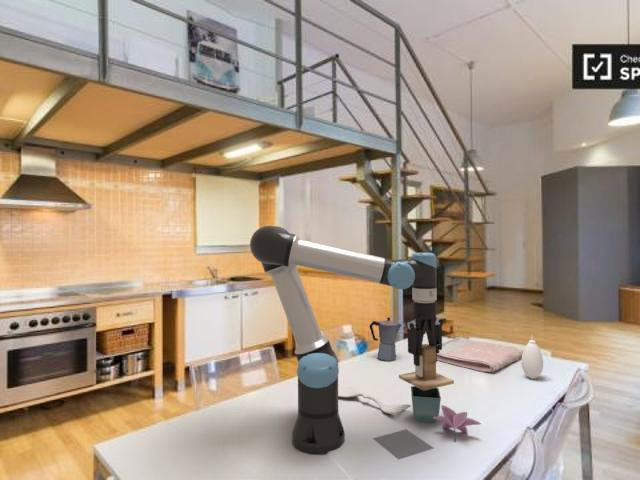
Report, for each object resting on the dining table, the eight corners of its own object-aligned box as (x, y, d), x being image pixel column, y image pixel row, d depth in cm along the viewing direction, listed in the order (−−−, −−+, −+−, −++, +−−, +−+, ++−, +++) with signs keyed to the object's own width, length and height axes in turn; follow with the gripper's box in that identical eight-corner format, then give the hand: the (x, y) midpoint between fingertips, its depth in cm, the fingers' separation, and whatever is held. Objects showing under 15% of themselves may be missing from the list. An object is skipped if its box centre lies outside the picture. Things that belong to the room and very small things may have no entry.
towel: (459, 344, 214) (459, 334, 214) (525, 358, 189) (525, 346, 189) (423, 358, 190) (423, 347, 190) (493, 376, 165) (493, 363, 165)
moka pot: (404, 361, 184) (403, 319, 184) (371, 362, 184) (370, 319, 184) (400, 355, 193) (399, 315, 193) (368, 355, 193) (368, 315, 193)
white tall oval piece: (541, 383, 156) (541, 337, 156) (520, 378, 160) (519, 334, 160) (544, 377, 162) (544, 333, 162) (523, 373, 167) (523, 331, 166)
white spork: (395, 423, 124) (395, 412, 124) (323, 394, 146) (323, 385, 146) (411, 413, 130) (411, 403, 130) (340, 388, 153) (340, 379, 153)
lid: (398, 378, 128) (398, 344, 128) (427, 372, 133) (427, 339, 133) (423, 390, 117) (423, 353, 117) (453, 383, 122) (453, 348, 122)
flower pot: (441, 427, 120) (441, 398, 120) (411, 425, 122) (411, 396, 122) (438, 414, 128) (438, 387, 128) (410, 412, 130) (410, 385, 130)
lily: (487, 447, 110) (483, 410, 115) (464, 443, 104) (461, 404, 108) (449, 445, 118) (447, 411, 123) (426, 441, 112) (424, 405, 117)
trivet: (398, 461, 102) (398, 459, 102) (372, 440, 113) (372, 438, 113) (434, 449, 107) (434, 448, 107) (406, 430, 118) (406, 429, 118)
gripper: (410, 305, 118) (411, 382, 118) (453, 300, 125) (454, 373, 125) (394, 301, 124) (395, 375, 125) (437, 297, 132) (438, 366, 132)
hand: (425, 373), depth 125 cm, fingers closed on lid, 4 cm apart
